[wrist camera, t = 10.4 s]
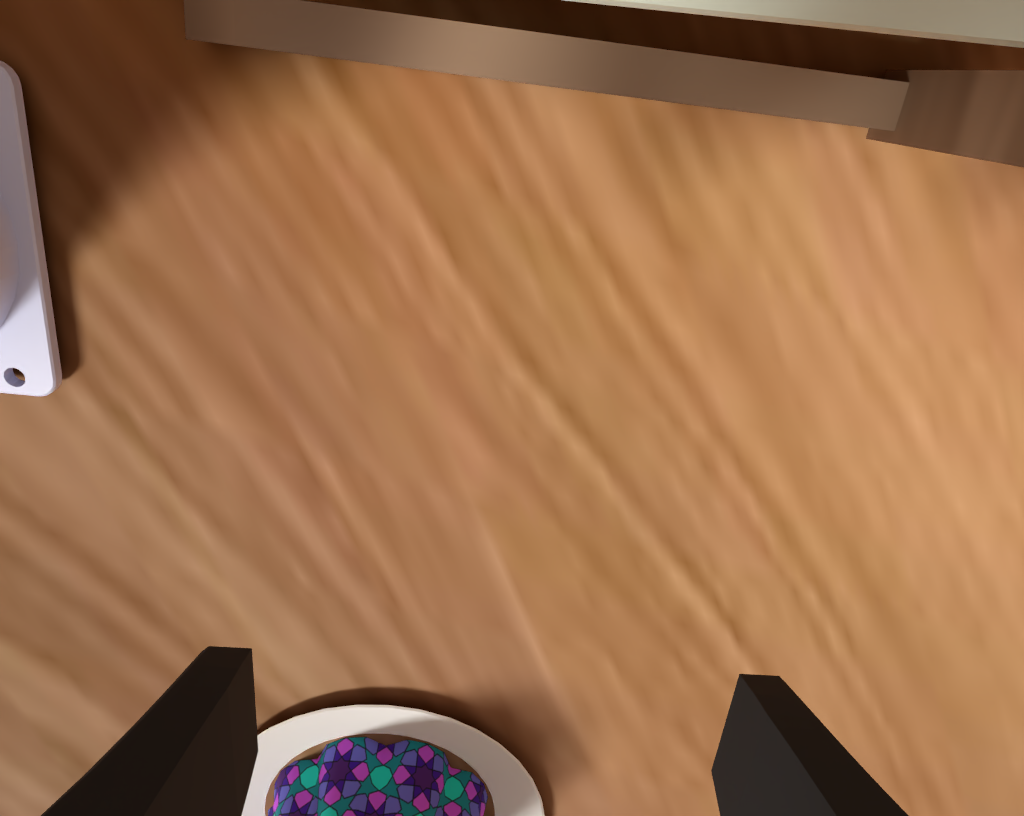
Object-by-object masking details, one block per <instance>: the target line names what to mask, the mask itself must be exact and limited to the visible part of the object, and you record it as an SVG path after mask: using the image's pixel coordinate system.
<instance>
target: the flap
mask: <svg viewBox="0 0 1024 816" xmlns="http://www.w3.org/2000/svg"><path fill="white" fill-rule="evenodd" d="M563 1H573V2H583V3H592V4H602V5H612V6H621V7H631V8H641V9H650V10H660V11H670V12H680V13H689V14H699V15H709V16H718V17H728V18H738V19H747V20H757V21H767V22H777V23H786V24H796V25H806V26H815V27H825V28H835V29H844V30H854V31H864V32H873V33H883V34H893V35H903V36H912V37H922V38H932V39H941V40H951V41H961V42H970V43H980V44H990V45H999V46H1009V47H1019V48H1024V0H563Z"/></svg>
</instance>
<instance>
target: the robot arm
mask: <svg viewBox="0 0 1024 816" xmlns="http://www.w3.org/2000/svg"><path fill="white" fill-rule="evenodd" d="M13 368H15V369H19V370H20V371H21V372H22V373H23V374H24V376H25V378H26V379H25V381H23V380H20V379H18V378H17V377H16V376H15V375H14V372H13ZM61 383H62V371H61V364H60V357H59V350H58V343H57V336H56V328H55V321H54V314H53V307H52V300H51V293H50V286H49V278H48V271H47V264H46V257H45V250H44V243H43V236H42V229H41V221H40V214H39V207H38V200H37V193H36V186H35V179H34V172H33V164H32V157H31V150H30V143H29V136H28V129H27V122H26V114H25V107H24V100H23V93H22V86H21V83H20V80H19V77H18V76H17V74H16V73H15V71H14V70H13V69H12V68H11V67H10V66H9V65H7V64H6V63H5V62H3V61H0V393H8V394H19V395H29V396H47V395H48V394H50V393H52V392H53V391H55V390H56V389H58V388H59V386H60V385H61ZM257 754H258V738H257V723H256V707H255V692H254V676H253V661H252V649H251V648H231V647H212V646H209V647H207V648H206V649H205V650H203V651H202V652H201V653H200V654H199V655H198V656H197V657H196V658H195V660H194V661H193V662H192V663H191V664H190V665H189V666H188V667H187V668H186V670H185V671H184V672H183V673H182V674H181V675H180V676H179V677H178V678H177V679H176V681H175V682H174V683H173V684H172V685H171V686H170V687H169V688H168V689H167V690H166V691H165V693H164V694H163V695H162V696H161V697H160V698H159V699H158V700H157V701H156V702H155V703H154V704H153V705H152V706H151V708H150V709H149V710H148V711H147V712H146V713H145V714H144V715H143V716H142V717H141V718H140V719H139V720H138V721H137V722H136V723H135V724H134V725H133V726H132V728H131V729H130V730H129V731H128V732H127V733H126V734H125V735H124V736H123V737H122V738H121V739H120V740H119V741H118V742H117V743H116V744H115V745H114V746H113V747H112V748H111V749H110V750H109V751H108V752H107V753H106V754H105V755H104V756H103V757H102V758H101V759H100V760H99V761H98V762H97V763H96V764H95V765H94V766H93V767H92V768H91V769H90V770H89V771H88V772H87V773H86V774H85V775H84V776H83V777H82V778H81V779H80V780H79V781H77V782H76V783H75V784H74V785H73V786H72V787H71V788H70V789H69V790H68V791H67V792H66V793H65V794H63V795H62V796H61V797H60V798H59V799H58V800H57V801H56V802H55V803H54V804H53V805H52V806H51V807H50V808H48V809H47V810H46V811H45V812H44V813H43V814H42V815H41V816H241V815H242V812H243V808H244V804H245V801H246V797H247V793H248V790H249V786H250V782H251V778H252V774H253V770H254V766H255V762H256V758H257ZM712 776H713V781H714V786H715V791H716V796H717V801H718V806H719V811H720V816H908V815H907V814H906V813H905V812H904V811H903V810H902V809H901V808H900V806H899V805H898V804H897V803H896V802H895V801H894V800H893V799H892V798H891V797H890V796H889V795H888V794H887V793H886V792H885V791H884V790H883V789H882V788H881V787H880V786H879V785H878V783H877V782H876V781H875V780H874V779H873V778H872V777H871V776H870V775H869V774H868V773H867V772H866V771H865V770H864V769H863V767H862V766H861V765H860V764H859V763H858V762H857V761H856V760H855V759H854V758H853V757H852V756H851V755H850V753H849V752H848V751H847V750H846V749H845V748H844V747H843V746H842V745H841V744H840V742H839V741H838V740H837V739H836V738H835V737H834V736H833V735H832V734H831V733H830V731H829V730H828V729H827V728H826V727H825V726H824V725H823V724H822V723H821V721H820V720H819V719H818V718H817V717H816V716H815V715H814V714H813V713H812V711H811V710H810V709H809V708H808V707H807V706H806V705H805V704H804V703H803V701H802V700H801V699H800V698H799V697H798V696H797V695H796V694H795V693H794V692H793V690H792V689H791V688H790V687H789V686H788V685H787V684H786V683H785V682H784V681H783V680H782V679H781V678H780V676H769V675H749V674H739V678H738V681H737V685H736V688H735V691H734V695H733V698H732V702H731V705H730V709H729V712H728V716H727V719H726V722H725V726H724V729H723V733H722V736H721V740H720V743H719V747H718V750H717V754H716V757H715V760H714V764H713V767H712Z"/></svg>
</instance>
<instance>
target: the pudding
mask: <svg viewBox="0 0 1024 816" xmlns="http://www.w3.org/2000/svg"><path fill="white" fill-rule="evenodd" d="M358 734H393V735H401V736H408V737H412V738H416V739H420V740H423V741H427V742H430V743H432V744H435V745H437V746H439V747H442V748H444V749H447V750H448V751H450V752H452V753H453V754H455V755H456V756H458V757H460V758H461V759H463V760H464V761H465V762H466V763H468V764H469V765H470V766H471V767H472V768H473V769H474V770H476V772H477V773H478V774H479V775H480V777H481V778H482V779H483V781H484V782H485V783H486V785H487V787H488V789H489V791H490V794H491V796H492V799H493V804H494V809H495V816H545V815H544V809H543V804H542V799H541V796H540V794H539V792H538V790H537V787H536V785H535V783H534V781H533V779H532V777H531V776H530V775H529V773H528V772H527V771H526V769H525V768H524V767H523V765H522V764H521V763H520V761H519V760H518V759H516V758H515V757H514V756H513V755H512V754H511V753H510V752H509V751H508V750H506V749H505V748H504V747H503V746H502V745H501V744H500V743H498V742H496V741H495V740H493V739H492V738H490V737H488V736H487V735H485V734H484V733H482V732H481V731H479V730H477V729H475V728H473V727H471V726H468V725H466V724H464V723H461V722H459V721H457V720H454V719H452V718H450V717H446V716H442V715H439V714H435V713H431V712H428V711H424V710H421V709H414V708H407V707H399V706H392V705H350V706H342V707H334V708H326V709H322V710H318V711H314V712H310V713H307V714H303V715H299V716H295V717H293V718H291V719H288V720H286V721H284V722H282V723H279V724H277V725H275V726H272V727H270V728H268V729H267V730H265V731H263V732H262V733H260V734H259V735H257V738H258V754H257V758H256V762H255V766H254V770H253V774H252V778H251V782H250V786H249V790H248V793H247V797H246V801H245V804H244V808H243V812H242V815H241V816H265V800H266V795H267V792H268V789H269V787H270V784H271V782H272V781H273V779H274V778H275V776H276V775H277V773H278V772H279V770H280V769H281V768H283V767H284V766H285V765H286V764H287V763H288V762H289V761H290V760H291V759H292V758H294V757H295V756H297V755H298V754H300V753H302V752H303V751H305V750H306V749H308V748H311V747H313V746H315V745H318V744H320V743H322V742H325V741H328V740H332V739H336V738H340V737H343V736H350V735H358ZM487 798H488V796H487V793H486V790H485V787H484V784H483V783H482V782H481V781H480V780H479V779H478V778H477V777H476V776H475V775H474V774H473V773H472V772H468V771H463V770H459V769H455V768H451V767H450V765H449V763H448V760H447V758H446V756H445V754H444V752H442V751H441V750H439V749H437V748H435V747H433V746H431V745H430V744H428V743H423V742H417V741H411V740H405V741H401V742H398V743H394V744H391V745H387V746H385V745H383V744H381V743H378V742H376V741H374V740H372V739H369V738H367V737H351V738H343V739H340V740H338V741H335V742H332V743H329V744H327V745H326V747H325V748H324V750H323V751H322V753H321V754H320V756H319V757H318V759H311V760H300V761H294V762H293V763H291V764H290V765H289V766H287V767H286V768H284V769H283V770H282V771H281V772H280V774H279V776H278V778H277V781H276V783H275V793H274V806H273V807H271V808H270V809H269V810H268V816H483V814H484V810H485V806H486V802H487Z"/></svg>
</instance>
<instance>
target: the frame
mask: <svg viewBox="0 0 1024 816" xmlns="http://www.w3.org/2000/svg"><path fill="white" fill-rule="evenodd" d="M184 15H185V33H186V39H189V40H197V41H204V42H212V43H220V44H227V45H235V46H243V47H250V48H258V49H266V50H273V51H281V52H289V53H296V54H304V55H312V56H320V57H327V58H335V59H343V60H350V61H358V62H366V63H373V64H381V65H389V66H396V67H404V68H412V69H419V70H427V71H435V72H443V73H450V74H458V75H466V76H473V77H481V78H489V79H496V80H504V81H512V82H519V83H527V84H535V85H543V86H550V87H558V88H566V89H573V90H581V91H589V92H596V93H604V94H612V95H619V96H627V97H635V98H642V99H650V100H658V101H666V102H673V103H681V104H689V105H696V106H704V107H712V108H719V109H727V110H735V111H742V112H750V113H758V114H765V115H773V116H781V117H789V118H796V119H804V120H812V121H819V122H827V123H835V124H842V125H850V126H858V127H865V128H869V131H868V134H867V137H866V139H871V140H877V141H882V142H888V143H893V144H899V145H904V146H910V147H915V148H921V149H926V150H932V151H937V152H943V153H948V154H954V155H959V156H964V157H970V158H975V159H981V160H986V161H992V162H997V163H1003V164H1008V165H1014V166H1019V167H1024V70H886V74H885V77H884V79H879V78H872V77H865V76H857V75H850V74H842V73H835V72H828V71H820V70H813V69H805V68H798V67H791V66H783V65H776V64H769V63H761V62H754V61H746V60H739V59H732V58H724V57H717V56H709V55H702V54H695V53H687V52H680V51H672V50H665V49H658V48H650V47H643V46H636V45H628V44H621V43H613V42H606V41H599V40H591V39H584V38H576V37H569V36H562V35H554V34H547V33H539V32H532V31H525V30H517V29H510V28H503V27H495V26H488V25H480V24H473V23H466V22H458V21H451V20H443V19H436V18H429V17H421V16H414V15H406V14H399V13H392V12H384V11H377V10H370V9H362V8H355V7H347V6H340V5H333V4H325V3H318V2H310V1H303V0H184Z"/></svg>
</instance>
